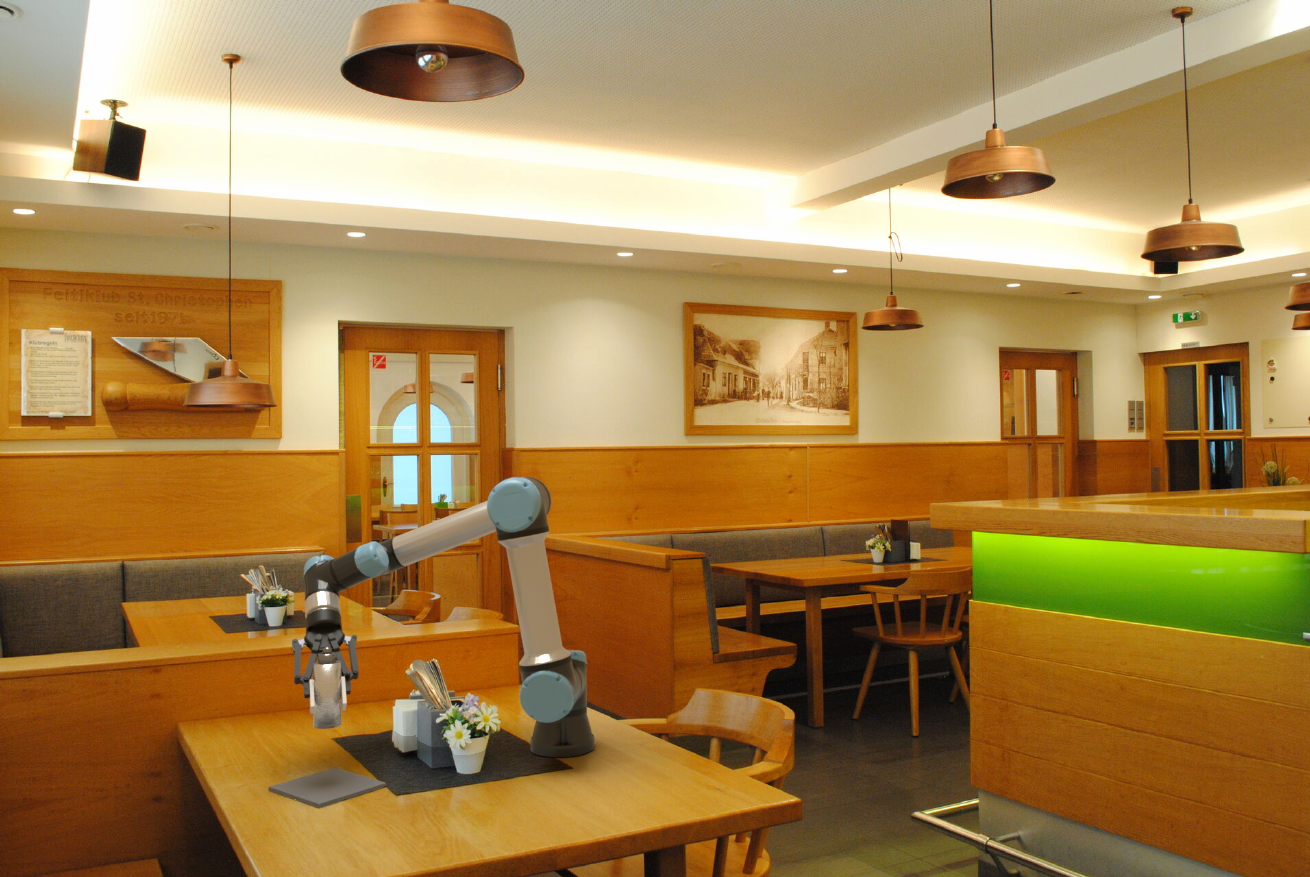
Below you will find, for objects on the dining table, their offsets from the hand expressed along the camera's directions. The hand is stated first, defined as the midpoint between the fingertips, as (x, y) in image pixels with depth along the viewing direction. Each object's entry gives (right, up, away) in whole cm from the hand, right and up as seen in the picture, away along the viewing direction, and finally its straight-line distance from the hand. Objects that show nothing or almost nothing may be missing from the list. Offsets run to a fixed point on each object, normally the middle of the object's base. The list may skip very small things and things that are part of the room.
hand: (328, 708), depth 206 cm
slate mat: (-1, -17, +3) cm, 18 cm away
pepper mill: (-1, -4, +3) cm, 6 cm away
